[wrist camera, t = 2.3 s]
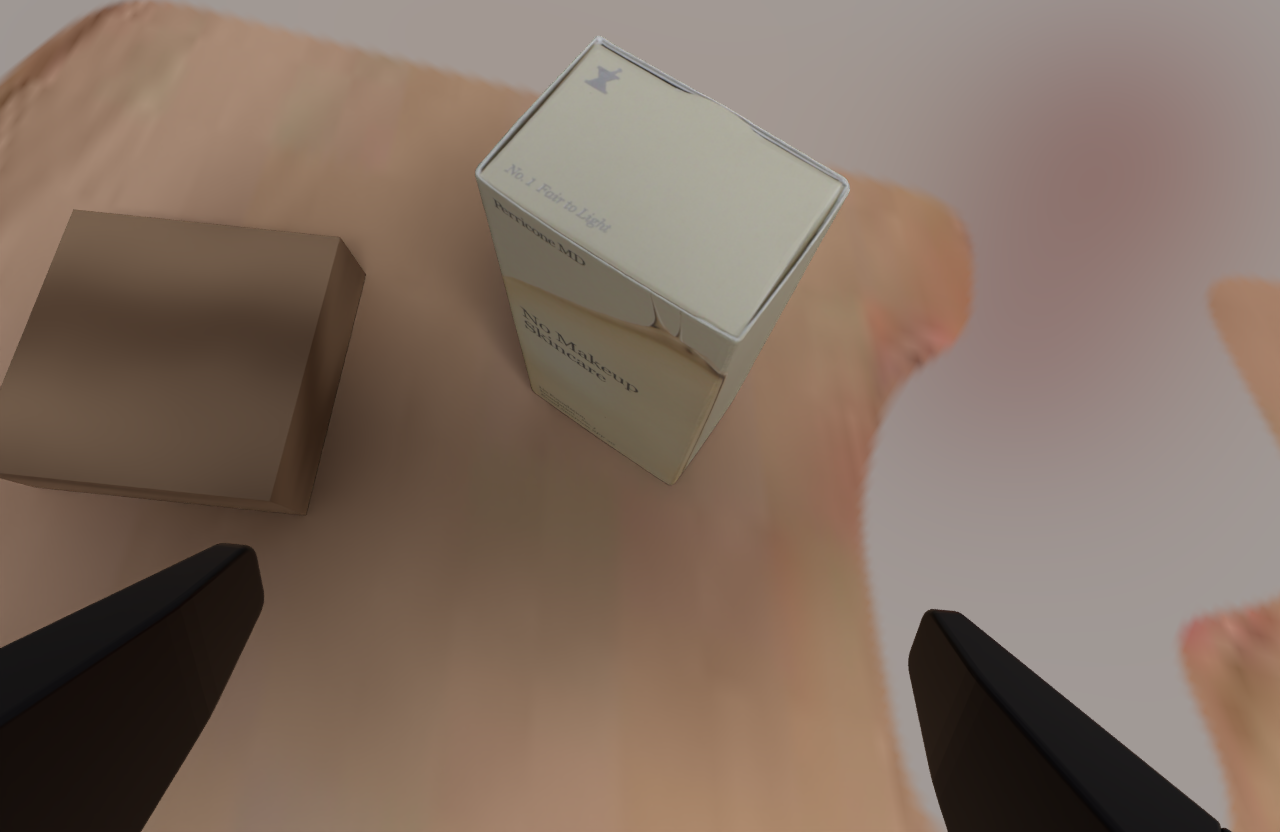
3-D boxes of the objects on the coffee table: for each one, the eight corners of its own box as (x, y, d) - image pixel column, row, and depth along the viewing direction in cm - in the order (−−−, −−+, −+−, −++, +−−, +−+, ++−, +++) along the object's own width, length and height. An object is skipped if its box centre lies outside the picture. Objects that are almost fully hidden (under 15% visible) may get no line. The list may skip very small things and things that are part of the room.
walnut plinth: (305, 515, 23) (269, 501, 21) (34, 487, 23) (-33, 469, 21) (365, 274, 26) (340, 237, 23) (123, 249, 26) (73, 209, 23)
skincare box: (529, 392, 24) (450, 172, 13) (602, 300, 26) (590, 23, 14) (677, 493, 24) (736, 352, 12) (746, 392, 25) (859, 176, 13)
